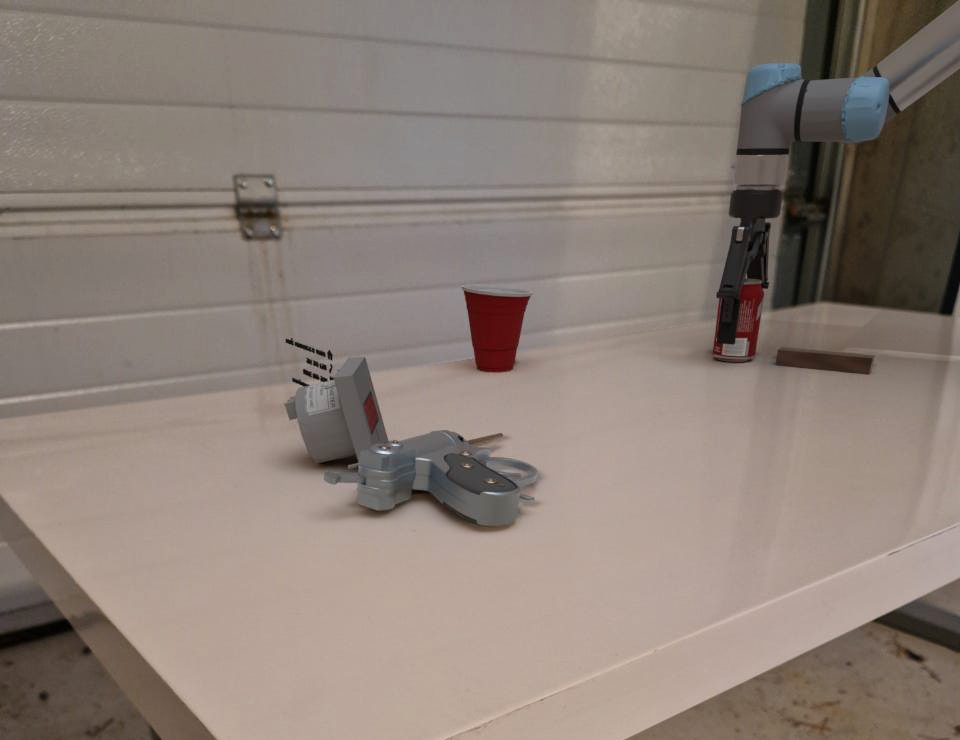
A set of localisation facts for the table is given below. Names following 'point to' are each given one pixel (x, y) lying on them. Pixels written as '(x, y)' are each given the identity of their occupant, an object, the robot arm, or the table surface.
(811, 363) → the walnut stick
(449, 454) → the grey metal jointed piece
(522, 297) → the plastic cup
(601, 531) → the table surface
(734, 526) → the table surface
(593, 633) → the table surface
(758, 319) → the soda can
